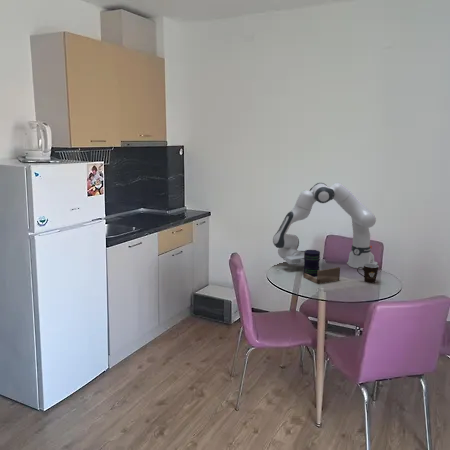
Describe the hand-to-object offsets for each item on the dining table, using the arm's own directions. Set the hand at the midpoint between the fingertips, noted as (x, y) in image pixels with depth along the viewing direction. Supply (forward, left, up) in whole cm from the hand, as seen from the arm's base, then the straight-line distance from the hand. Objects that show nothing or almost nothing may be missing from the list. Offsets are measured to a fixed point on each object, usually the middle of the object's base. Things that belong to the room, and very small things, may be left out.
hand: (307, 262), depth 287 cm
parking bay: (+5, +13, -7) cm, 15 cm away
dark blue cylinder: (+2, +4, -7) cm, 8 cm away
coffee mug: (-11, +36, -7) cm, 38 cm away
